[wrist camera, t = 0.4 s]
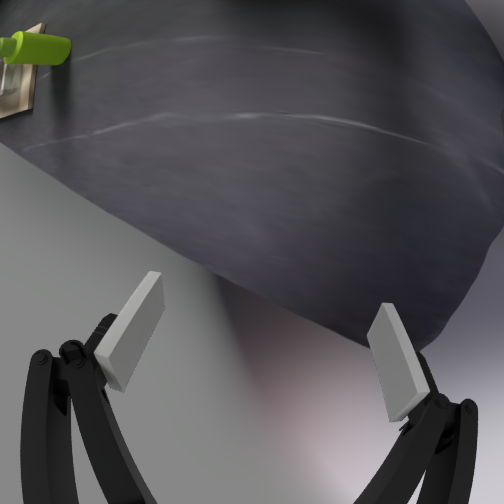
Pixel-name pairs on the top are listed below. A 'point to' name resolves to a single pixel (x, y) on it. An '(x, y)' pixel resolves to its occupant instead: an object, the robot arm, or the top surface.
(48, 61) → the soap dispenser
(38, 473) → the robot arm
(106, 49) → the top surface
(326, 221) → the top surface
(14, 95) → the dispenser caddy
